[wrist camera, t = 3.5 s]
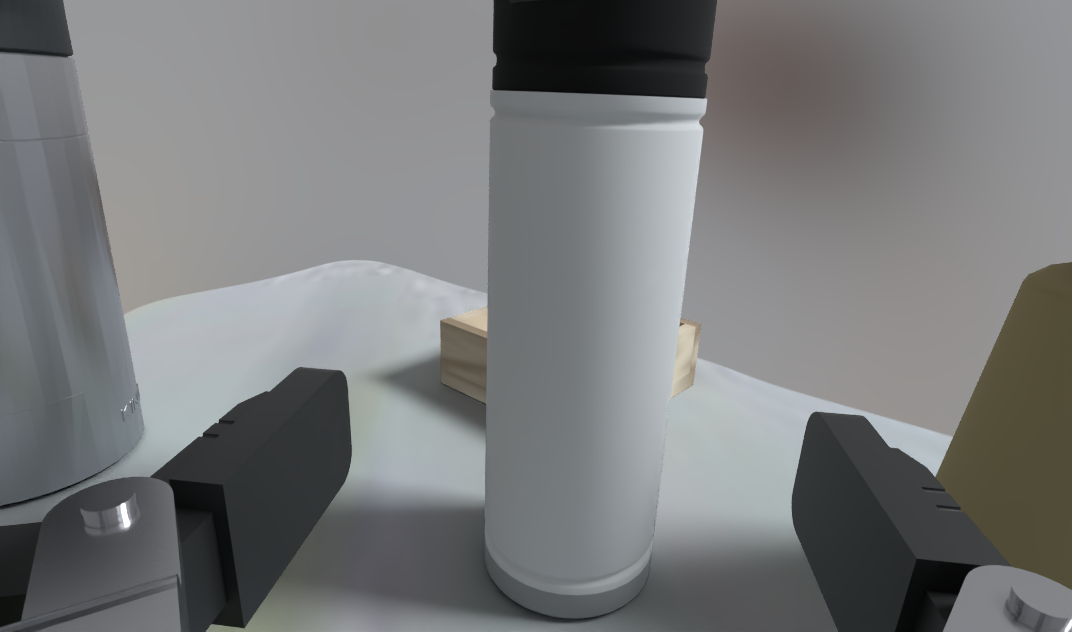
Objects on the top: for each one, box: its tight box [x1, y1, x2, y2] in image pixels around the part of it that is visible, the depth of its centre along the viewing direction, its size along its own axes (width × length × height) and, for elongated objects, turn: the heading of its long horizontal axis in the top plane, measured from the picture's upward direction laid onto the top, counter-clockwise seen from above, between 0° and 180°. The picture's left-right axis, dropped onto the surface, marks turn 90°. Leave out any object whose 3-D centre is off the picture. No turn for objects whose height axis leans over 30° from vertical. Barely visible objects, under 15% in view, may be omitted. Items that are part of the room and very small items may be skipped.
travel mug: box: [484, 0, 717, 619], centre depth 21 cm, size 6×7×20 cm
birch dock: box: [440, 306, 701, 404], centre depth 38 cm, size 11×11×4 cm
